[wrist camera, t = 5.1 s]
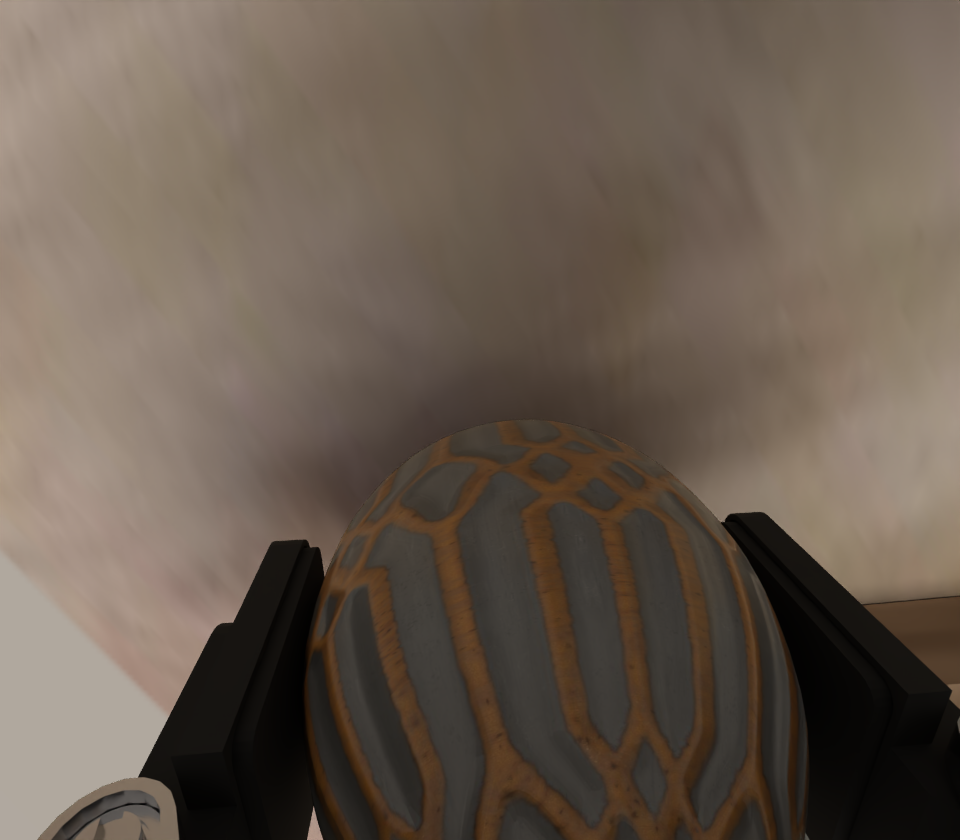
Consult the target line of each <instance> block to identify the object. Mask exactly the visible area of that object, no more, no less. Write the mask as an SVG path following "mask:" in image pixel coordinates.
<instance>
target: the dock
mask: <svg viewBox="0 0 960 840" xmlns="http://www.w3.org/2000/svg"><path fill="white" fill-rule="evenodd" d="M863 606H864V607H865V608H866V609H867V610H868V611H869V612H870V613H871V614H872V615H873V616H874V617H875V618H876V619H877V620H879V621H880V622H881V623H882V624H883V625H884V626H885V627H886V628H887V629H888V630H889V631H890V632H891V633H892V634H893V635H894V636H895V637H896V638H898V639H899V640H900V641H901V642H902V643H903V644H904V645H905V646H906V647H907V648H908V649H909V650H910V651H911V652H912V653H913V654H914V655H915V656H917V657H918V658H919V659H920V660H921V661H922V662H923V663H924V664H925V665H926V666H927V667H928V668H929V669H930V670H931V671H932V672H933V673H934V674H936V675H937V676H938V677H939V678H940V679H941V680H942V681H943V682H944V683H945V684H946V685H947V686H948V687H949V688H950V689H951V690H952V693H951V696H950V698H949V699H950V700H951V701H952V702H953V703H954V704H955V705H956V706H957V707H958V708H959V709H960V597H950V598H939V599H928V600H917V601H906V602H894V603H883V604H872V605H863ZM805 840H809V838H808V836H807V834H806V833H805Z"/></svg>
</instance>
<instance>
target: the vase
mask: <svg viewBox="0 0 960 840" xmlns="http://www.w3.org/2000/svg"><path fill="white" fill-rule="evenodd" d="M302 718H303V736H304V748H305V760H306V766H307V773H308V779H309V786H310V791H311V796H312V801H313V805H314V809H315V813H316V817H317V821H318V824H319V828H320V831H321V834H322V837H323V840H805V832H806V821H807V809H808V794H809V774H810V764H809V744H808V728H807V722H806V716H805V710H804V705H803V700H802V694H801V689H800V686H799V682H798V679H797V675H796V672H795V668H794V665H793V661H792V658H791V654H790V651H789V648H788V645H787V643H786V640H785V637H784V635H783V632H782V629H781V626H780V624H779V621H778V619H777V617H776V614H775V612H774V610H773V607H772V605H771V603H770V601H769V598H768V596H767V594H766V592H765V590H764V588H763V586H762V584H761V582H760V580H759V579H758V577H757V575H756V573H755V572H754V570H753V568H752V566H751V565H750V563H749V561H748V560H747V558H746V556H745V555H744V553H743V552H742V550H741V549H740V547H739V546H738V544H737V543H736V542H735V541H734V539H733V538H732V537H731V535H730V534H729V533H728V532H727V530H726V529H725V528H724V527H723V525H722V524H721V523H720V522H719V520H718V519H717V518H716V517H715V516H714V515H713V513H712V512H711V511H710V510H709V509H708V508H707V507H706V506H705V505H704V504H703V503H702V502H701V501H700V500H699V499H698V498H697V497H696V496H695V495H694V494H693V493H692V492H691V491H690V490H689V489H688V488H687V487H686V486H685V485H684V484H682V483H681V482H680V481H679V480H678V479H677V478H675V477H674V476H673V475H672V474H671V473H670V472H668V471H667V470H666V469H665V468H663V467H662V466H661V465H660V464H658V463H657V462H655V461H654V460H652V459H651V458H649V457H648V456H646V455H644V454H642V453H641V452H639V451H637V450H635V449H633V448H632V447H630V446H628V445H626V444H624V443H622V442H620V441H618V440H616V439H614V438H611V437H609V436H607V435H604V434H601V433H599V432H596V431H593V430H589V429H586V428H582V427H579V426H575V425H571V424H567V423H561V422H556V421H547V420H529V419H525V420H508V421H500V422H494V423H488V424H483V425H479V426H476V427H472V428H469V429H466V430H463V431H460V432H457V433H454V434H452V435H450V436H447V437H445V438H443V439H441V440H439V441H437V442H435V443H433V444H431V445H429V446H428V447H426V448H425V449H423V450H421V451H420V452H418V453H417V454H415V455H414V456H413V457H411V458H410V459H409V460H407V461H406V462H405V463H404V464H402V465H401V466H400V467H399V468H398V469H397V470H395V471H394V472H393V473H392V474H391V475H390V476H389V477H387V478H386V479H385V480H384V481H383V482H382V483H381V485H380V486H379V487H378V488H377V489H376V490H375V491H374V492H373V493H372V495H371V496H370V497H369V498H368V500H367V501H366V502H365V504H364V505H363V506H362V507H361V509H360V510H359V511H358V513H357V514H356V516H355V517H354V519H353V520H352V521H351V523H350V524H349V526H348V528H347V530H346V531H345V533H344V535H343V537H342V539H341V541H340V543H339V545H338V547H337V550H336V552H335V554H334V556H333V558H332V561H331V563H330V565H329V567H328V570H327V572H326V575H325V578H324V581H323V584H322V587H321V590H320V593H319V595H318V598H317V601H316V604H315V608H314V613H313V617H312V621H311V625H310V629H309V634H308V638H307V642H306V648H305V659H304V670H303V682H302Z"/></svg>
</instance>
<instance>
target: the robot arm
mask: <svg viewBox="0 0 960 840" xmlns="http://www.w3.org/2000/svg"><path fill="white" fill-rule="evenodd" d="M721 524H722V525H723V527H724V528H725V529H726V530H727V532H728V533H729V534H730V535H731V537H732V538H733V539H734V541H735V542H736V543H737V544H738V546H739V547H740V549H741V550H742V552H743V553H744V555H745V556H746V558H747V560H748V561H749V563H750V565H751V566H752V568H753V570H754V572H755V573H756V575H757V577H758V579H759V580H760V582H761V584H762V586H763V588H764V590H765V592H766V594H767V596H768V598H769V601H770V603H771V605H772V607H773V610H774V612H775V614H776V617H777V619H778V621H779V624H780V626H781V629H782V632H783V635H784V637H785V640H786V643H787V645H788V648H789V651H790V654H791V658H792V661H793V665H794V668H795V672H796V675H797V679H798V682H799V686H800V689H801V694H802V700H803V705H804V710H805V716H806V722H807V728H808V744H809V764H810V774H809V794H808V809H807V821H806V832H805V833H806V834H807V836H808V838H809V840H960V709H959V708H958V707H957V706H956V705H955V704H954V703H953V702H952V701H951V700H950V699H949V698H950V696H951V693H952V690H951V689H950V688H949V687H948V686H947V685H946V684H945V683H944V682H943V681H942V680H941V679H940V678H939V677H938V676H937V675H936V674H934V673H933V672H932V671H931V670H930V669H929V668H928V667H927V666H926V665H925V664H924V663H923V662H922V661H921V660H920V659H919V658H918V657H917V656H915V655H914V654H913V653H912V652H911V651H910V650H909V649H908V648H907V647H906V646H905V645H904V644H903V643H902V642H901V641H900V640H899V639H898V638H896V637H895V636H894V635H893V634H892V633H891V632H890V631H889V630H888V629H887V628H886V627H885V626H884V625H883V624H882V623H881V622H880V621H879V620H877V619H876V618H875V617H874V616H873V615H872V614H871V613H870V612H869V611H868V610H867V609H866V608H865V607H864V606H863V605H862V604H861V603H860V602H858V601H857V600H856V599H855V598H854V597H853V596H852V595H851V594H850V593H849V592H848V591H847V590H846V589H845V588H844V587H843V586H842V585H841V584H839V583H838V582H837V581H836V580H835V579H834V578H833V577H832V576H831V575H830V574H829V573H828V572H827V571H826V570H825V569H824V568H823V567H822V566H820V565H819V564H818V563H817V562H816V561H815V560H814V559H813V558H812V557H811V556H810V555H809V554H808V553H807V552H806V551H805V550H804V549H803V548H802V547H800V546H799V545H798V544H797V543H796V542H795V541H794V540H793V539H792V538H791V537H790V536H789V535H788V534H787V533H786V532H785V531H784V530H783V529H781V528H780V527H779V526H778V525H777V524H776V523H775V522H774V521H773V520H772V519H771V518H770V517H769V516H768V515H766V514H765V513H763V512H752V513H735V514H730V515H728V516H727V518H726V519H725V522H721ZM324 578H325V577H324V570H323V564H322V557H321V552H320V549H319V548H318V547H312V548H310V546H309V543H308V541H307V540H289V541H274V542H272V543H271V545H270V546H269V549H268V551H267V553H266V555H265V557H264V559H263V561H262V563H261V565H260V568H259V570H258V572H257V574H256V576H255V578H254V580H253V582H252V585H251V587H250V589H249V591H248V593H247V595H246V597H245V599H244V601H243V604H242V606H241V608H240V610H239V612H238V614H237V616H236V618H235V620H234V623H221V624H220V625H218V626H217V627H216V628H215V629H214V631H213V632H212V634H211V636H210V638H209V640H208V641H207V643H206V645H205V647H204V649H203V651H202V653H201V655H200V657H199V659H198V661H197V663H196V665H195V667H194V669H193V671H192V673H191V675H190V677H189V679H188V681H187V683H186V685H185V686H184V688H183V690H182V692H181V694H180V696H179V698H178V700H177V702H176V704H175V706H174V708H173V710H172V712H171V714H170V716H169V718H168V720H167V722H166V724H165V726H164V728H163V730H162V732H161V734H160V735H159V737H158V739H157V741H156V744H155V745H154V747H153V749H152V751H151V753H150V755H149V757H148V759H147V761H146V763H145V765H144V767H143V769H142V771H141V772H140V774H139V776H138V778H129V779H123V780H120V781H117V782H114V783H111V784H108V785H105V786H102V787H100V788H99V789H97V790H95V791H93V792H91V793H90V794H88V795H86V796H85V797H82V798H81V799H79V800H78V801H77V802H75V803H74V804H73V805H72V806H70V807H69V808H68V809H67V810H65V811H64V812H63V813H61V814H60V815H59V816H58V817H57V818H56V819H55V820H54V821H53V822H52V823H51V825H50V826H49V827H48V828H47V829H46V830H45V831H44V832H43V833H42V834H41V835H40V837H39V838H38V840H307V837H308V831H309V826H310V821H311V816H312V811H313V806H314V805H313V801H312V796H311V791H310V786H309V779H308V773H307V766H306V760H305V748H304V736H303V718H302V682H303V670H304V659H305V648H306V642H307V638H308V634H309V629H310V625H311V621H312V617H313V613H314V608H315V604H316V601H317V598H318V595H319V593H320V590H321V587H322V584H323V581H324Z"/></svg>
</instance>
